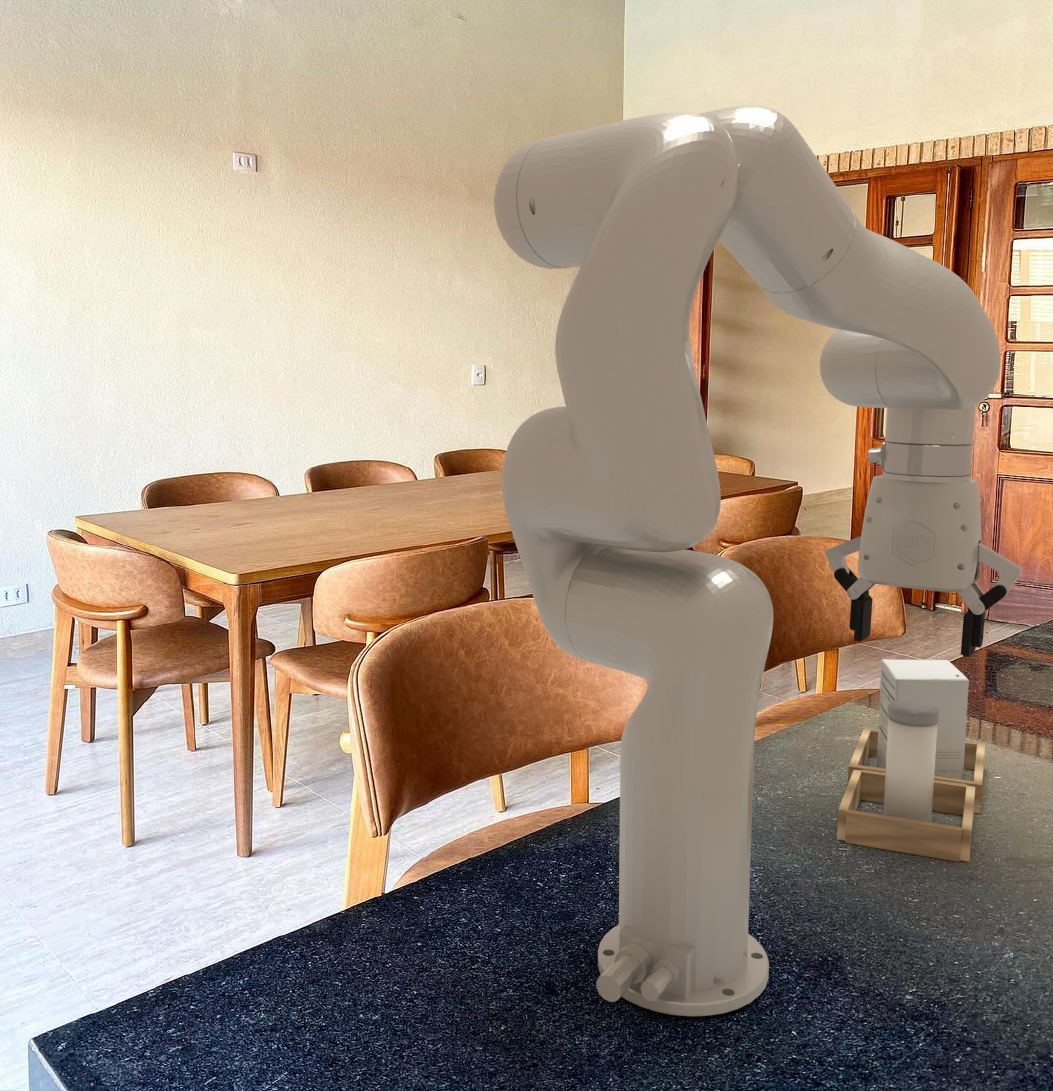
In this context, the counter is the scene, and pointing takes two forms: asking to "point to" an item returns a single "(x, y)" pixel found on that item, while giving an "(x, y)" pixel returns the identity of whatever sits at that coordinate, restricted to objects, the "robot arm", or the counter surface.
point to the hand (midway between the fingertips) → (913, 646)
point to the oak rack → (903, 831)
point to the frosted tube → (910, 760)
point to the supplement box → (936, 688)
